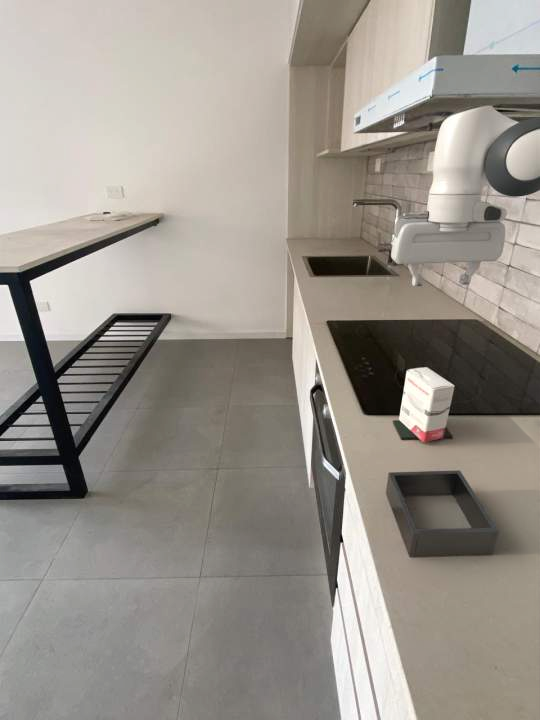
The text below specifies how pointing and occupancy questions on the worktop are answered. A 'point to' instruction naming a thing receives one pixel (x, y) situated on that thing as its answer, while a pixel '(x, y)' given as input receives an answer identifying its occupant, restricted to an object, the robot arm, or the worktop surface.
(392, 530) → the worktop surface
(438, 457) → the worktop surface
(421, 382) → the ink box
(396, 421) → the mat
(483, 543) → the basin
